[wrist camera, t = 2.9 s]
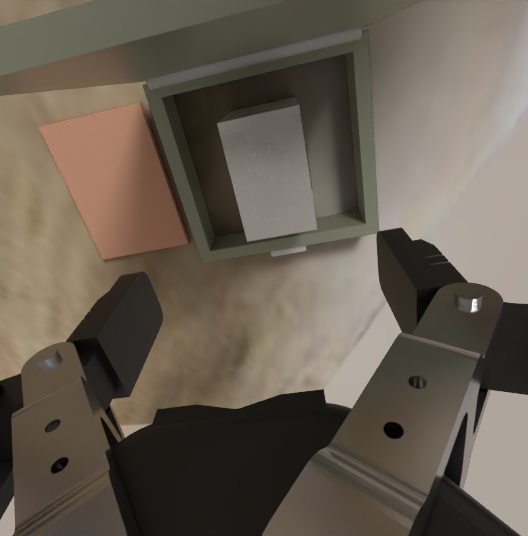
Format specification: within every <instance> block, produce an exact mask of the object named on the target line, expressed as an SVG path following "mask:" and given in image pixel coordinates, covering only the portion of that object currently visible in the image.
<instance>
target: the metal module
mask: <svg viewBox="0 0 528 536" xmlns="http://www.w3.org/2000/svg"><path fill="white" fill-rule="evenodd" d="M217 126H218V130H219V134H220V137H221V141H222V145H223V149H224V153H225V157H226V161H227V165H228V169H229V173H230V177H231V181H232V184H233V188H234V192H235V196H236V200H237V204H238V208H239V212H240V216H241V220H242V224H243V228H244V231H245V235H246V239H247V242H249V241H254V240H260V239H266V238H271V237H277V236H282V235H288V234H294V233H299V232H305V231H311V230H316V229H317V223H316V216H315V209H314V203H313V196H312V183H311V177H310V170H309V163H308V156H307V149H306V144H305V141H304V134H303V128H302V121H301V114H300V107H299V104H298V102H297V100H296V99H295V97H291V98H287V99H282V100H278V101H273V102H269V103H265V104H260V105H256V106H251V107H247V108H243V109H238V110H234V111H230V112H229V113H228V114H227V115H226V116H225V117H223V118H222V119H221V120H220V121H219V122H218V123H217Z"/></svg>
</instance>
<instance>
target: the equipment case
mask: <svg viewBox="0 0 528 536" xmlns="http://www.w3.org/2000/svg"><path fill="white" fill-rule="evenodd" d="M420 1H422V0H94V1H90V2H87V3H83V4H80V5H76V6H73V7H69V8H66V9H62V10H58V11H55V12H51V13H48V14H44V15H41V16H37V17H34V18H30V19H27V20H23V21H20V22H16V23H13V24H9V25H6V26H2V27H0V96H2V95H13V94H23V93H33V92H43V91H53V90H63V89H73V88H83V87H93V86H103V85H114V84H124V83H134V82H142V81H146V83H147V84H145V85H143V88H144V91H145V94H146V97H147V100H148V103H149V106H150V109H151V112H152V115H153V118H154V121H155V124H156V127H157V130H158V133H159V136H160V139H161V142H162V145H163V148H164V151H165V154H166V157H167V160H168V163H169V166H170V169H171V172H172V175H173V178H174V181H175V184H176V187H177V190H178V193H179V196H180V199H181V202H182V205H183V208H184V211H185V214H186V217H187V220H188V222H189V225H190V228H191V231H192V234H193V237H194V240H195V243H196V246H197V249H198V252H199V255H200V258H201V261H202V263H208V262H214V261H220V260H226V259H231V258H237V257H243V256H249V255H255V254H260V253H266V252H271V256H272V257H274V256H280V255H286V254H292V253H298V252H303V251H307V250H306V246H307V245H313V244H318V243H324V242H330V241H336V240H342V239H348V238H353V237H359V236H365V235H371V234H377V232H379V218H378V200H377V182H376V164H375V146H374V127H373V109H372V91H371V73H370V55H369V37H368V30H364V31H362V27H365V26H369V25H371V24H373V23H375V22H377V21H379V20H381V19H383V18H386V17H388V16H390V15H392V14H394V13H396V12H398V11H400V10H403V9H405V8H407V7H409V6H411V5H413V4H415V3H418V2H420ZM342 54H345V56H346V68H347V80H348V92H349V104H350V116H351V128H352V139H353V151H354V163H355V175H356V187H357V199H358V211H354V212H349V213H343V214H338V215H332V216H327V217H321V218H316V223H317V229H316V230H311V231H305V232H299V233H294V234H288V235H282V236H277V237H271V238H266V239H260V240H254V241H249V242H247V239H246V235H245V231H244V232H239V233H233V234H228V235H222V236H217V237H215V233H214V230H213V227H212V223H211V220H210V217H209V214H208V210H207V207H206V204H205V200H204V197H203V194H202V190H201V187H200V184H199V180H198V177H197V174H196V170H195V167H194V164H193V160H192V157H191V154H190V150H189V147H188V144H187V140H186V137H185V134H184V130H183V127H182V124H181V120H180V117H179V114H178V111H177V107H176V104H175V101H174V97H173V95H175V94H179V93H183V92H188V91H192V90H196V89H200V88H204V87H209V86H213V85H217V84H221V83H225V82H229V81H234V80H238V79H242V78H246V77H250V76H255V75H259V74H263V73H267V72H271V71H275V70H280V69H284V68H288V67H292V66H296V65H301V64H305V63H309V62H313V61H317V60H322V59H326V58H330V57H334V56H338V55H342Z"/></svg>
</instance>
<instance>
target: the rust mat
mask: <svg viewBox="0 0 528 536" xmlns="http://www.w3.org/2000/svg"><path fill="white" fill-rule="evenodd" d="M39 129H40V131H41V134H42V136H43V138H44V140H45V142H46V144H47V146H48V148H49V150H50V152H51V154H52V156H53V158H54V160H55V162H56V164H57V166H58V168H59V171H60V173H61V175H62V177H63V179H64V181H65V183H66V185H67V187H68V189H69V191H70V193H71V195H72V197H73V199H74V201H75V203H76V206H77V208H78V210H79V212H80V214H81V216H82V218H83V220H84V222H85V224H86V226H87V228H88V230H89V232H90V234H91V236H92V238H93V240H94V243H95V245H96V247H97V249H98V251H99V253H100V255H101V257H102V259H109V258H115V257H120V256H126V255H131V254H137V253H142V252H148V251H153V250H159V249H164V248H170V247H175V246H181V245H187V244H189V242H190V241H189V238H188V235H187V232H186V229H185V226H184V223H183V220H182V218H181V215H180V212H179V209H178V206H177V203H176V200H175V197H174V194H173V191H172V188H171V185H170V182H169V180H168V177H167V174H166V171H165V168H164V165H163V162H162V159H161V156H160V153H159V150H158V147H157V144H156V142H155V139H154V136H153V133H152V130H151V127H150V124H149V121H148V118H147V115H146V112H145V109H144V106H143V104H142V102H141V103H137V104H132V105H128V106H124V107H120V108H116V109H112V110H107V111H103V112H99V113H95V114H91V115H86V116H82V117H78V118H74V119H70V120H66V121H61V122H57V123H53V124H49V125H45V126H41V127H39Z"/></svg>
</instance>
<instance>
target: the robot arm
mask: <svg viewBox="0 0 528 536" xmlns="http://www.w3.org/2000/svg"><path fill="white" fill-rule="evenodd" d="M377 255H378V273H379V281H380V285H381V289H382V291H383V294H384V296H385V298H386V300H387V302H388V304H389V306H390V308H391V310H392V312H393V314H394V316H395V318H396V320H397V322H398V324H399V327H400V328H401V331H402V332H401V333H400V334H399V335H398V336H397V338H396V339H395V341H394V343H393V344H392V346H391V347H390V349H389V351H388V352H387V354H386V355H385V357H384V359H383V360H382V362H381V364H380V365H379V367H378V368H377V370H376V371H375V373H374V375H373V376H372V378H371V379H370V381H369V383H368V384H367V386H366V387H365V389H364V390H363V392H362V394H361V395H360V397H359V399H358V400H357V402H356V403H355V405H354V406H353V408H352V409H351V408H348V407H345V406H341V405H337V404H330V403H326V401H325V395H324V389H322V390H314V391H306V392H298V393H289V394H281V395H278V396H275V397H272V398H269V399H266V400H263V401H260V402H257V403H254V404H252V405H249V406H246V407H243V408H239V409H229V408H220V407H212V406H203V405H190V406H182V407H174V408H165V409H157V412H156V415H155V418H154V421H153V424H151V425H148V426H146V427H144V428H142V429H140V430H138V431H136V432H134V433H132V434H130V435H129V436H127V437H126V438H125V437H124V434H123V432H122V429H121V427H120V424H119V422H118V420H117V417H116V415H115V412H114V410H113V409H112V407H111V405H110V403H111V401H112V399H115V398H123V397H130V395H131V392H132V390H133V388H134V386H135V383H136V381H137V379H138V377H139V374H140V372H141V370H142V368H143V365H144V363H145V361H146V359H147V356H148V354H149V352H150V350H151V347H152V345H153V343H154V341H155V339H156V336H157V334H158V332H159V330H160V327H161V325H162V321H163V314H162V309H161V306H160V304H159V301H158V299H157V297H156V294H155V292H154V290H153V287H152V285H151V282H150V280H149V278H148V276H147V274H146V273H144V272H138V273H132V274H126V275H122V276H120V277H119V279H118V280H117V281H116V283H115V284H114V285H113V287H112V288H111V289H110V291H109V292H108V293H106V294H105V295H104V296H102V297H101V298H100V299H99V300H97V302H96V303H95V304H94V306H93V307H92V308H91V311H89V312H88V313H87V315H86V316H85V317H84V318H85V319H83V320H82V321H81V323H80V324H79V325H78V326H77V328H76V329H75V330H74V332H73V333H72V334H71V335H70V337H69V338H68V339H67V341H66V342H61V343H57V344H54V345H51V346H49V347H46V348H44V349H43V350H41V351H39V352H38V353H36V354H35V355H33V356H32V357H31V358H30V359H29V360H28V361H27V362H26V363H25V364H24V366H23V368H22V370H21V374H18V375H16V376H13V377H10V378H7V379H4V380H2V381H0V519H1V517H2V516H3V514H4V512H5V510H6V509H7V507H8V505H9V503H10V502H11V500H12V498H13V496H14V501H15V502H14V503H15V532H14V535H13V536H520V535H519V534H518V533H516V532H515V531H514V530H513V529H511V528H510V527H509V526H508V525H506V524H505V523H504V522H503V521H501V520H500V519H499V518H498V517H496V516H495V515H494V514H493V513H491V512H490V511H489V510H487V509H486V508H485V507H484V506H483V505H481V504H480V503H479V502H477V501H476V500H475V499H474V498H472V497H471V496H470V495H469V494H467V493H466V492H465V491H464V490H463V487H464V484H465V480H466V476H467V472H468V467H469V462H470V458H471V453H472V449H473V446H474V442H475V439H476V436H477V433H478V429H479V425H480V423H481V419H482V417H483V413H484V410H485V407H486V404H487V400H488V397H489V394H490V390H496V391H504V392H511V393H518V394H526V395H528V304H516V303H507V302H503V299H502V297H501V295H500V294H499V293H497V292H496V291H495V290H493V289H491V288H489V287H487V286H484V285H481V284H476V283H468V282H467V281H466V280H465V279H464V277H463V276H462V275H461V274H460V273H459V272H458V271H457V270H456V269H455V267H454V266H453V265H452V264H451V263H450V262H448V260H447V259H446V258H445V256H444V255H442V253H441V252H440V251H439V250H438V249H437V248H436V247H435V246H434V245H433V244H430V243H428V242H426V241H424V240H421V239H420V240H414V241H412V240H411V238H410V237H409V236H408V235H407V233H406V232H405V231H404V230H403V229H402V228H396V229H390V230H384V231H379V232H377Z"/></svg>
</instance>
